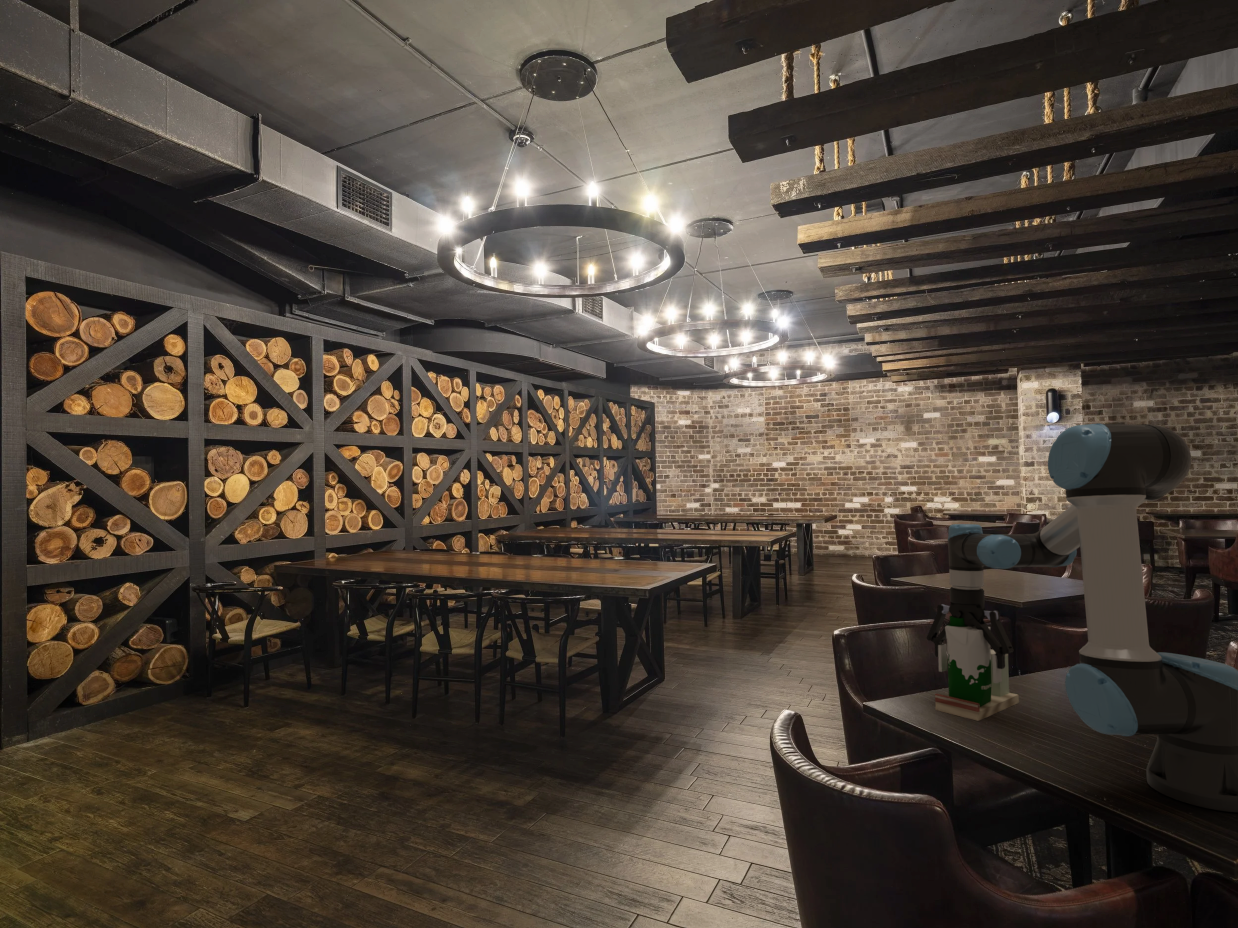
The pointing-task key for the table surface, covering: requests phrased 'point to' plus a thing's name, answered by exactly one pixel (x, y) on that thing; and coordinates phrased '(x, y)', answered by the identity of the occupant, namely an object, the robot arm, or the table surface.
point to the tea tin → (1002, 686)
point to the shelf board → (974, 706)
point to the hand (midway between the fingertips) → (969, 676)
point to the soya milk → (968, 662)
